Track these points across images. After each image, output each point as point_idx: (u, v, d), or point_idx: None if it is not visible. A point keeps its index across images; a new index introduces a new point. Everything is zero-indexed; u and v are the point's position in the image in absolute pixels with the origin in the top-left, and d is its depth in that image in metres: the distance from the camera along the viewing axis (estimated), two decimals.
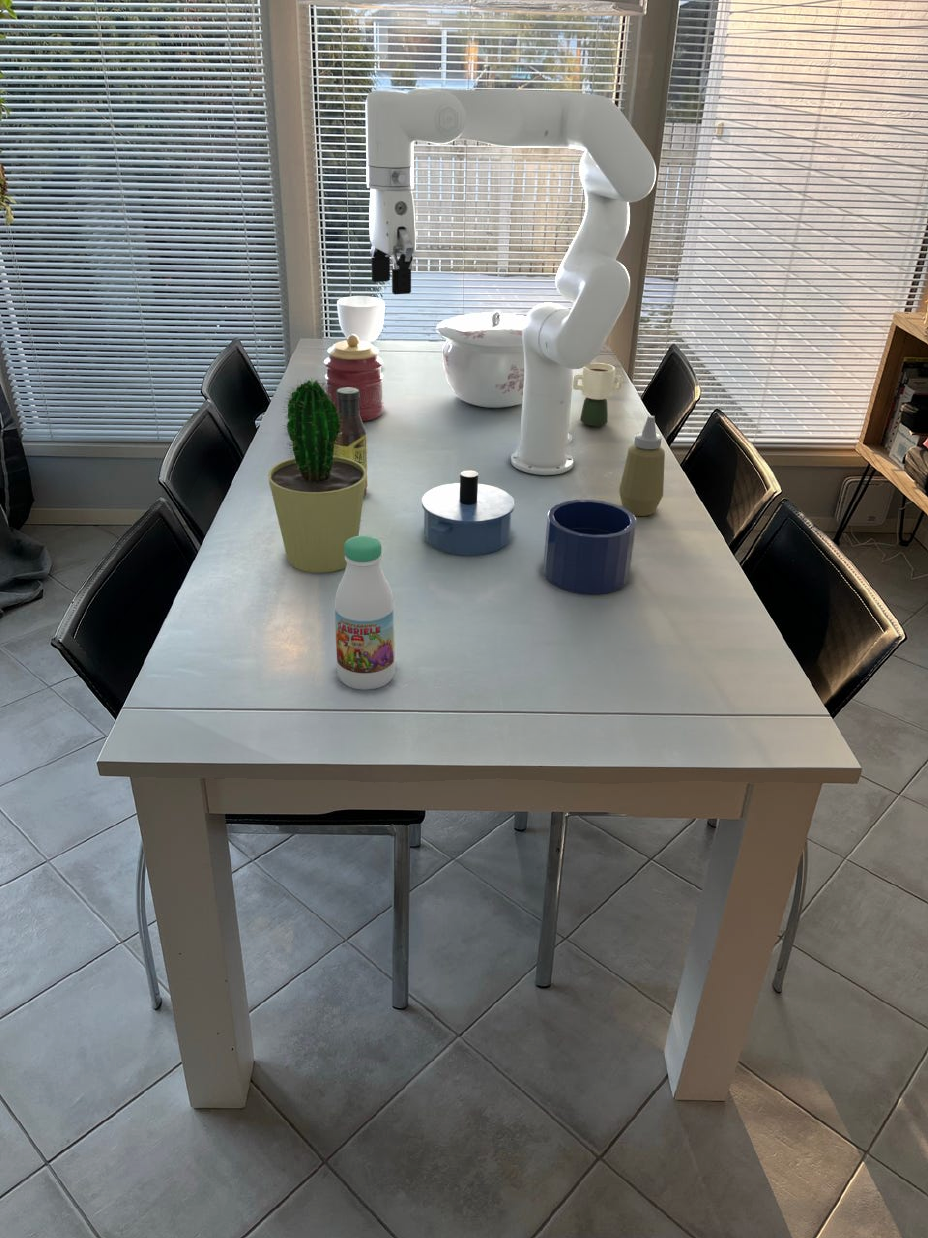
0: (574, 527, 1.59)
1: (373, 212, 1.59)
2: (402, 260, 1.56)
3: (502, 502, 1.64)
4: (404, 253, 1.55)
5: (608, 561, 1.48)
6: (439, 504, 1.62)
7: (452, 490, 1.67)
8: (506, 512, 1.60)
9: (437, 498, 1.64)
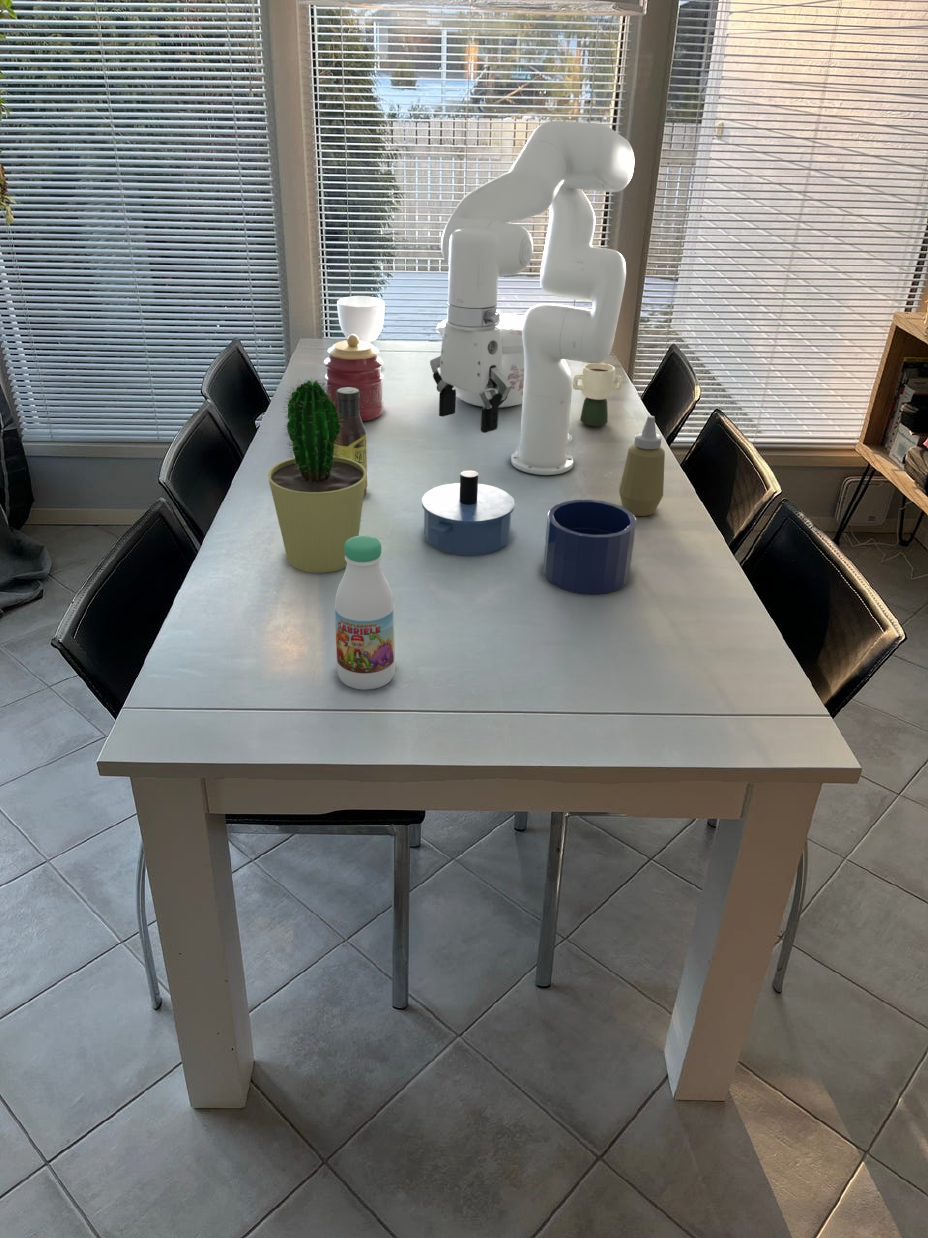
0: (574, 527, 1.59)
1: (452, 350, 1.50)
2: (498, 400, 1.49)
3: (502, 502, 1.64)
4: (501, 393, 1.48)
5: (608, 561, 1.48)
6: (439, 504, 1.62)
7: (452, 490, 1.67)
8: (506, 512, 1.60)
9: (437, 498, 1.64)
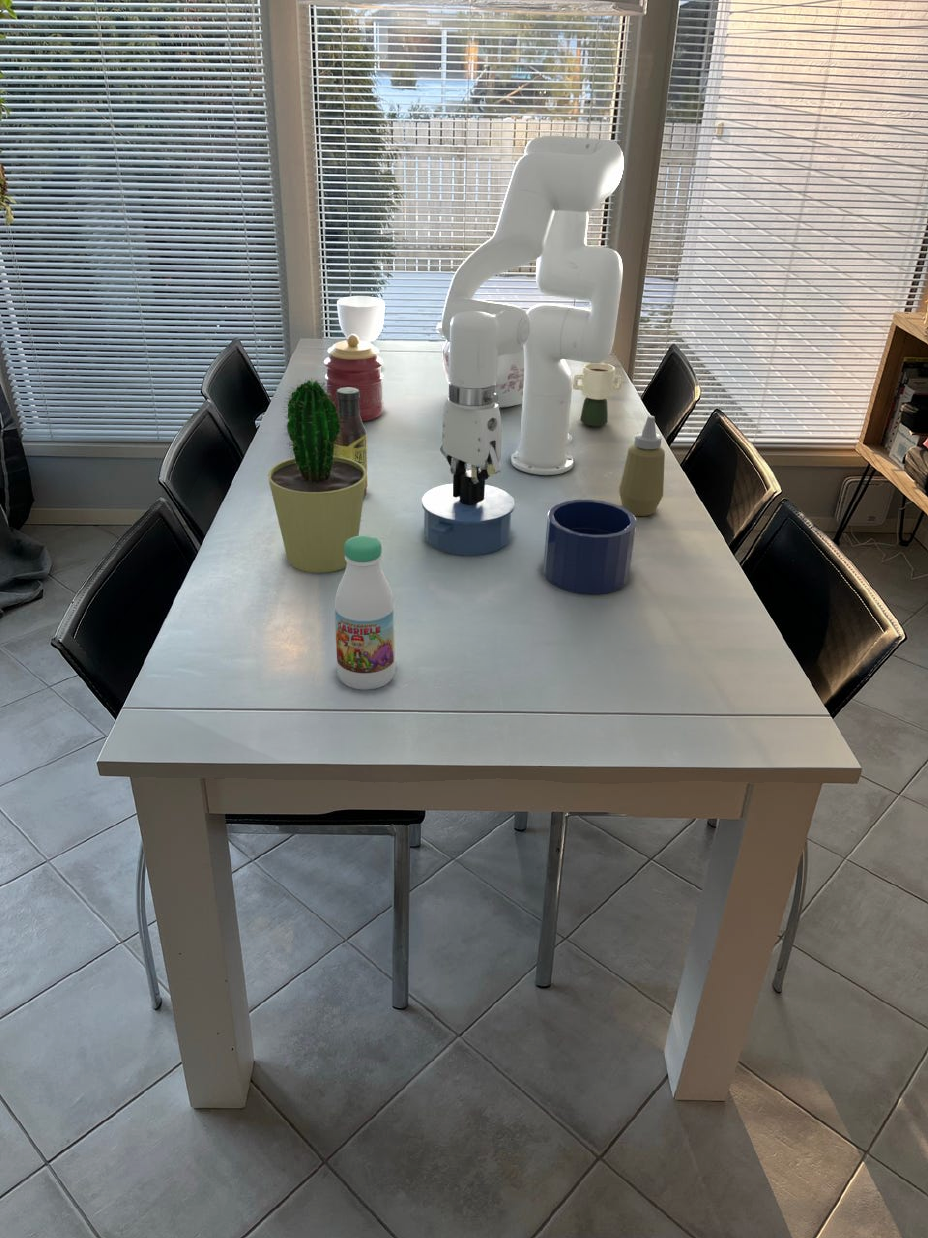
0: (574, 527, 1.59)
1: (454, 426, 1.56)
2: (484, 476, 1.57)
3: (502, 502, 1.64)
4: (488, 473, 1.57)
5: (608, 561, 1.48)
6: (439, 504, 1.62)
7: (452, 490, 1.67)
8: (506, 512, 1.60)
9: (437, 498, 1.64)
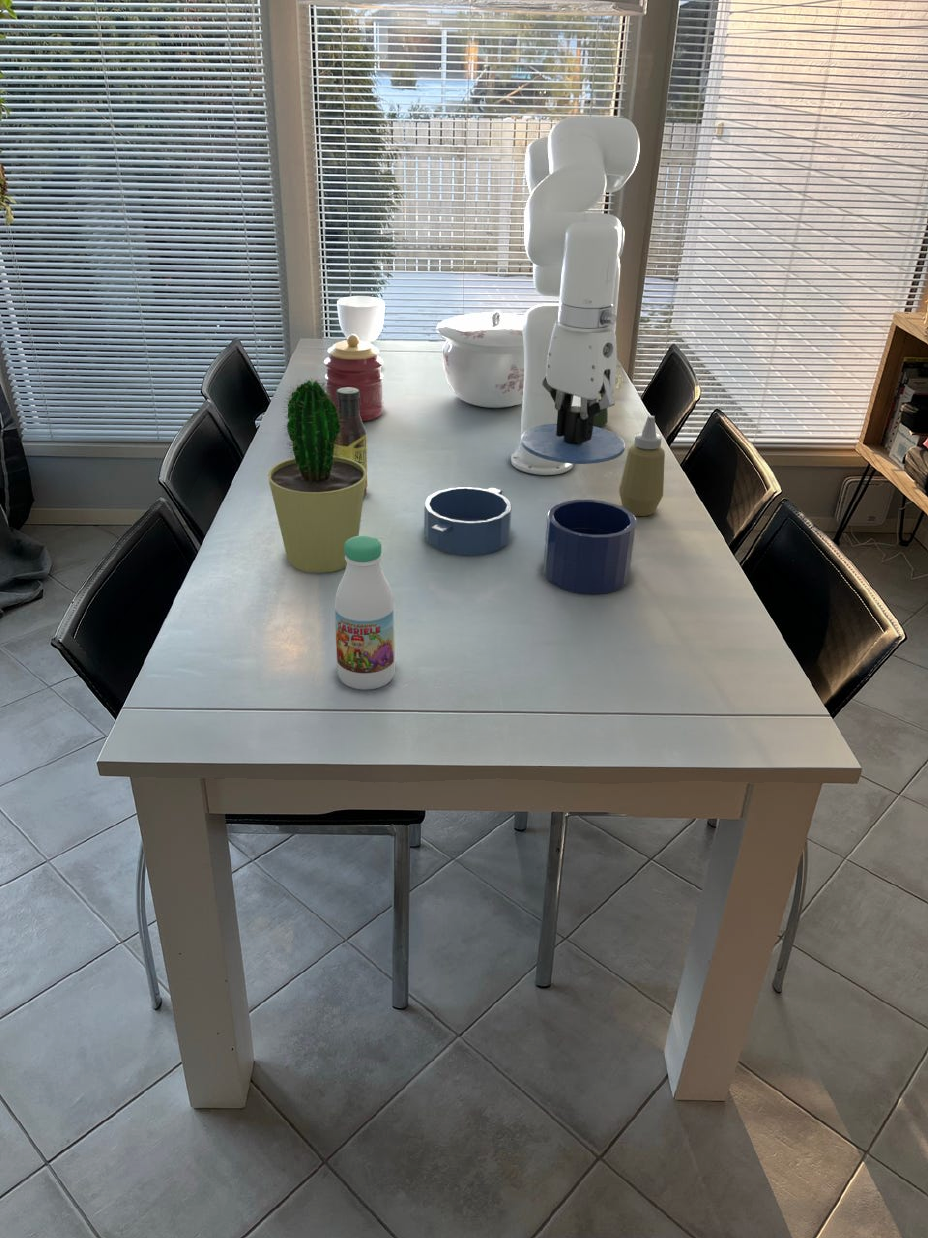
0: (574, 527, 1.59)
1: (563, 353, 1.40)
2: (596, 410, 1.41)
3: (611, 442, 1.47)
4: (601, 406, 1.41)
5: (608, 561, 1.48)
6: (541, 443, 1.46)
7: (552, 430, 1.51)
8: (617, 452, 1.44)
9: (538, 437, 1.48)
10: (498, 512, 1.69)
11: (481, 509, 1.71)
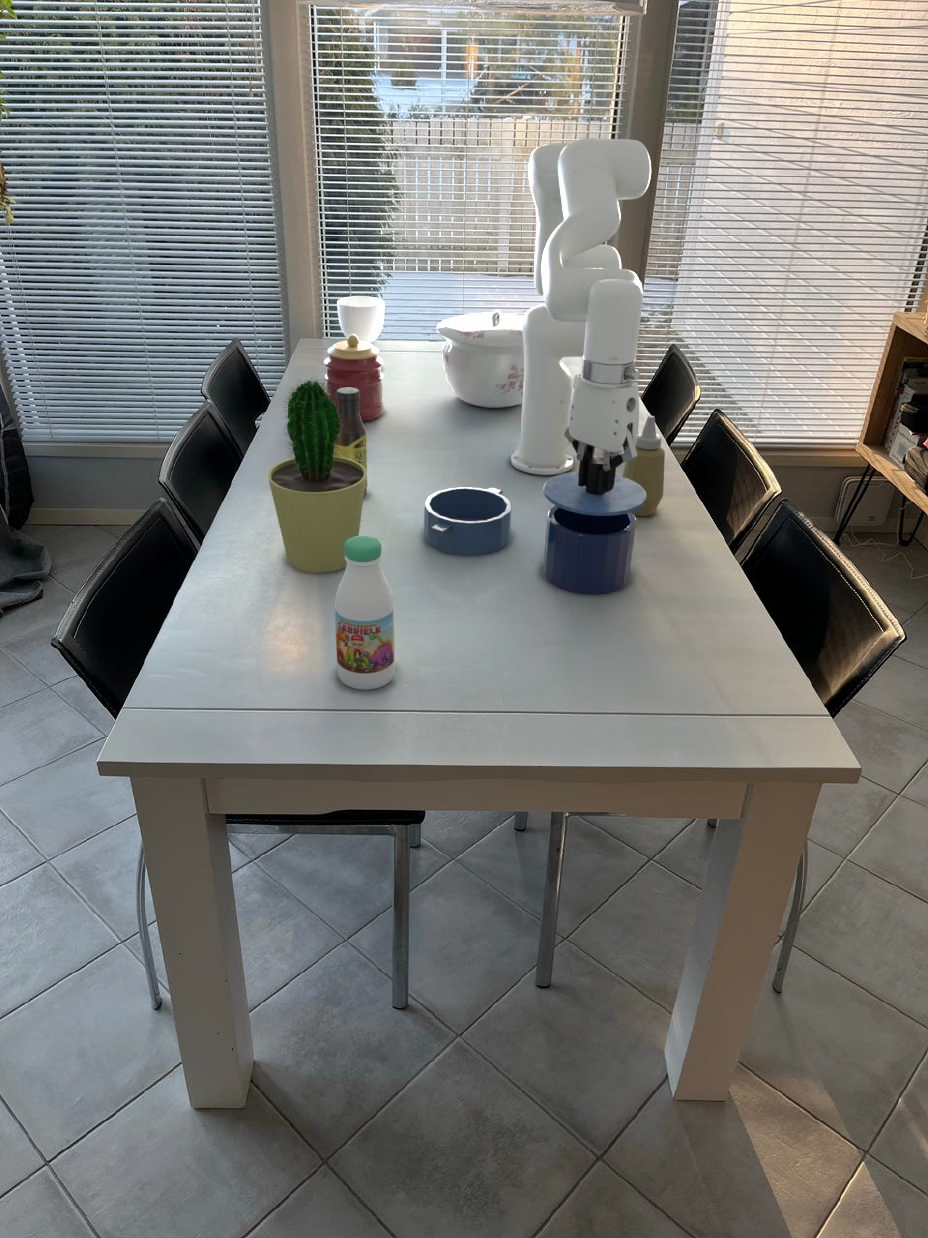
0: (574, 527, 1.59)
1: (586, 407, 1.42)
2: (618, 462, 1.43)
3: (632, 492, 1.49)
4: (623, 459, 1.42)
5: (608, 561, 1.48)
6: (564, 494, 1.48)
7: (573, 479, 1.53)
8: (639, 502, 1.46)
9: (560, 487, 1.50)
10: (498, 512, 1.69)
11: (481, 509, 1.71)
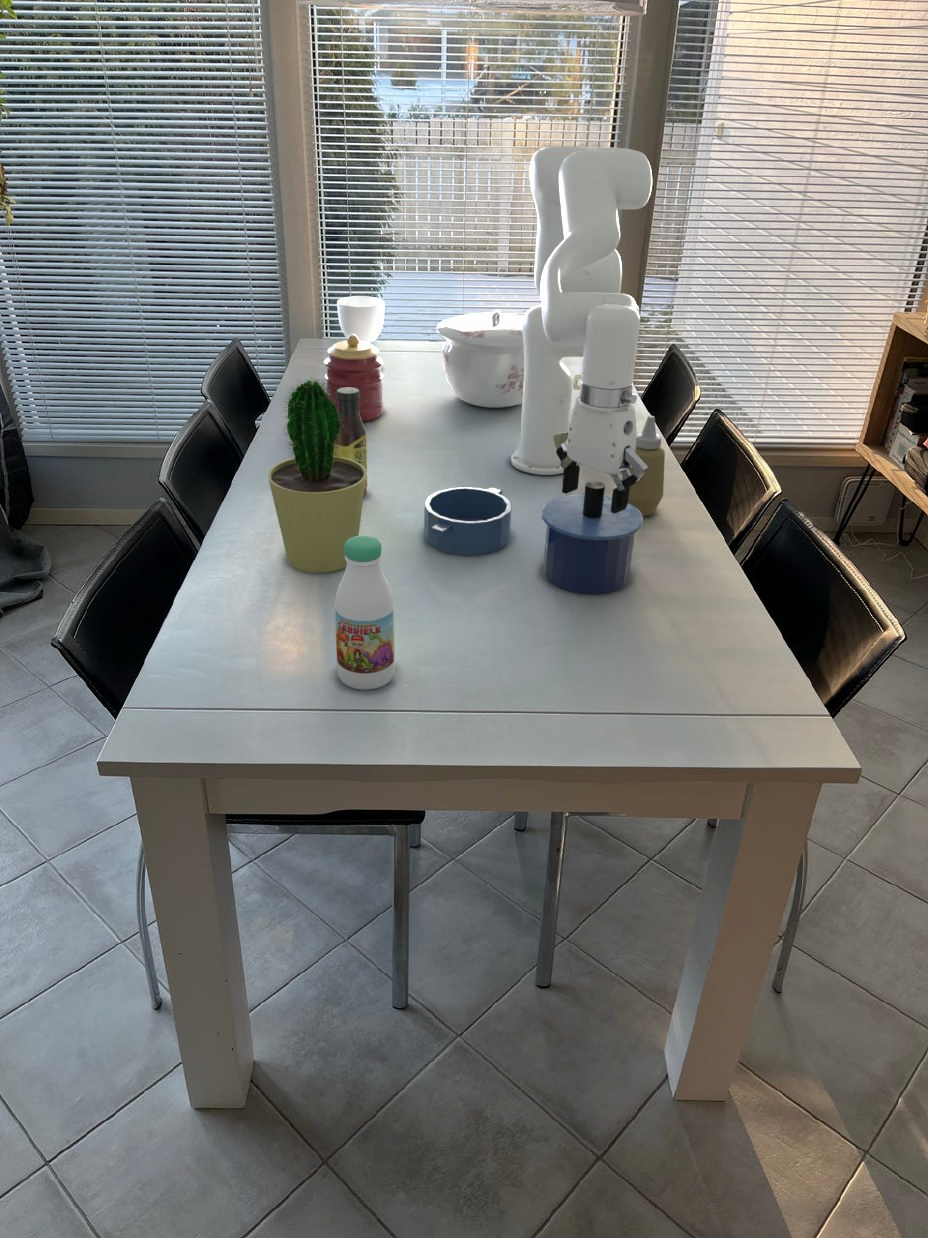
0: None
1: (583, 429, 1.43)
2: (633, 482, 1.42)
3: (629, 515, 1.51)
4: (636, 475, 1.42)
5: (608, 561, 1.48)
6: (562, 518, 1.50)
7: (571, 502, 1.55)
8: (636, 526, 1.48)
9: (558, 511, 1.52)
10: (498, 512, 1.69)
11: (481, 509, 1.71)
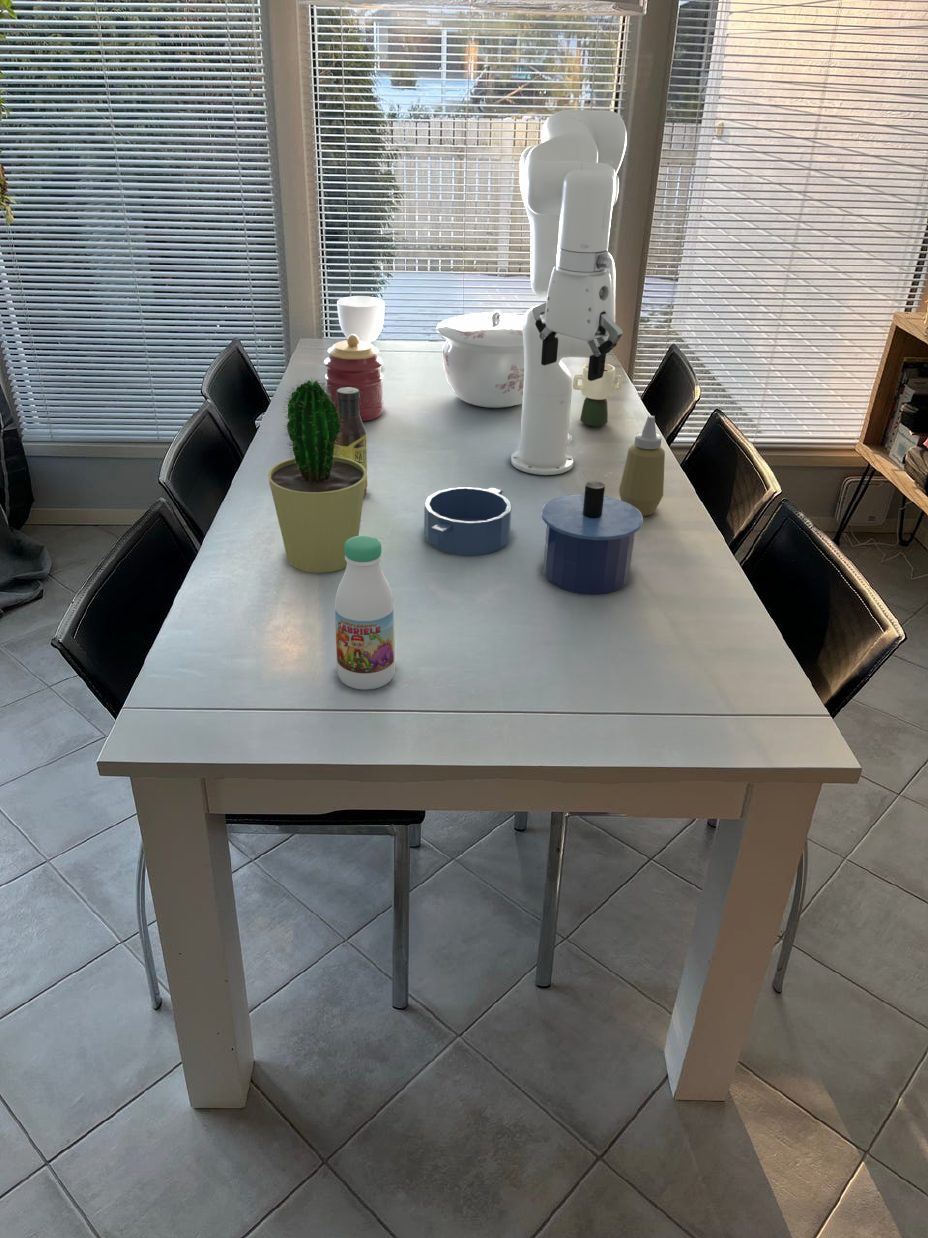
0: None
1: (561, 297, 1.48)
2: (608, 347, 1.47)
3: (629, 515, 1.51)
4: (612, 340, 1.46)
5: (608, 561, 1.48)
6: (562, 518, 1.50)
7: (571, 502, 1.55)
8: (636, 526, 1.48)
9: (558, 511, 1.52)
10: (498, 512, 1.69)
11: (481, 509, 1.71)
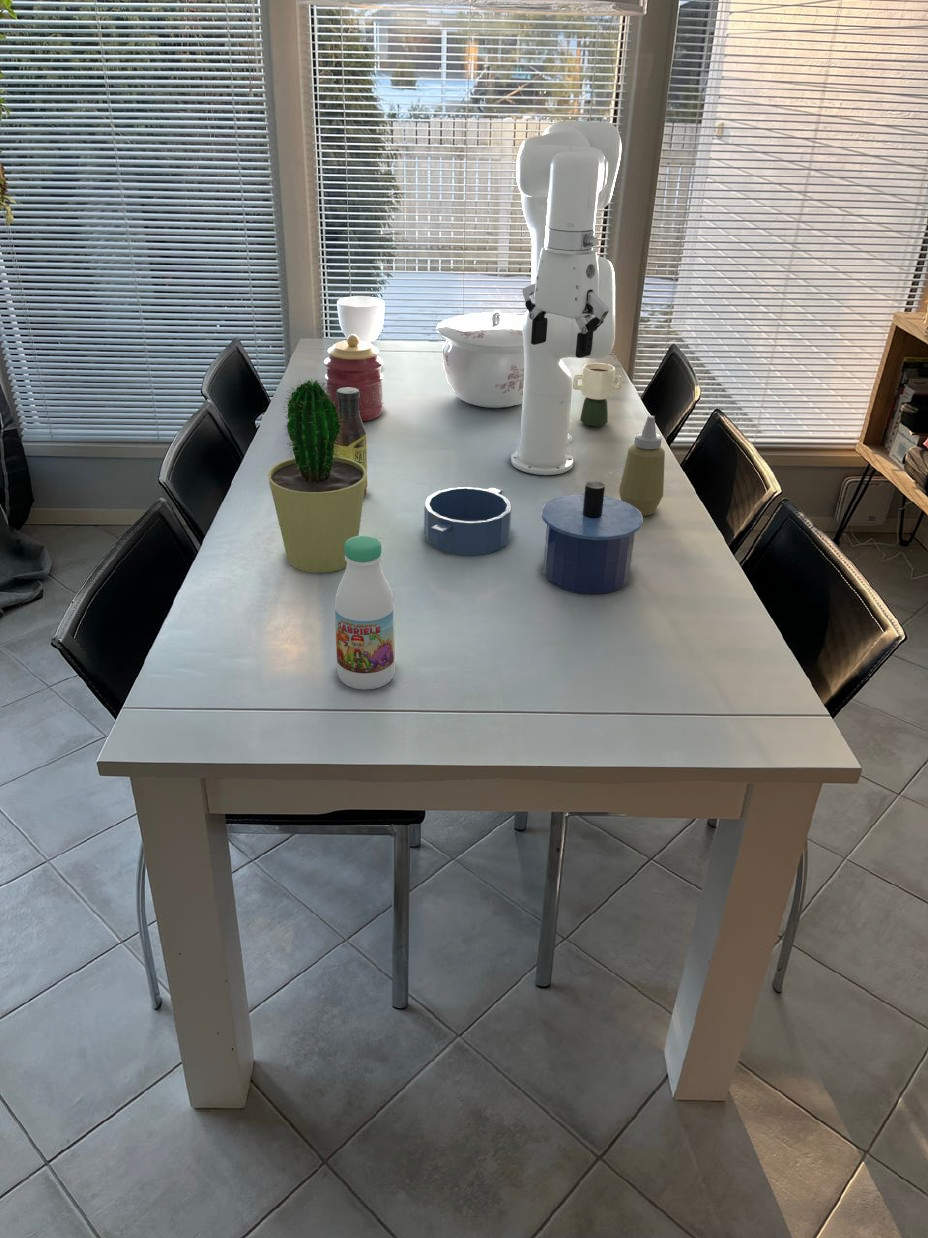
0: None
1: (549, 276, 1.53)
2: (595, 324, 1.51)
3: (629, 515, 1.51)
4: (599, 317, 1.51)
5: (608, 561, 1.48)
6: (562, 518, 1.50)
7: (571, 502, 1.55)
8: (636, 526, 1.48)
9: (558, 511, 1.52)
10: (498, 512, 1.69)
11: (481, 509, 1.71)
